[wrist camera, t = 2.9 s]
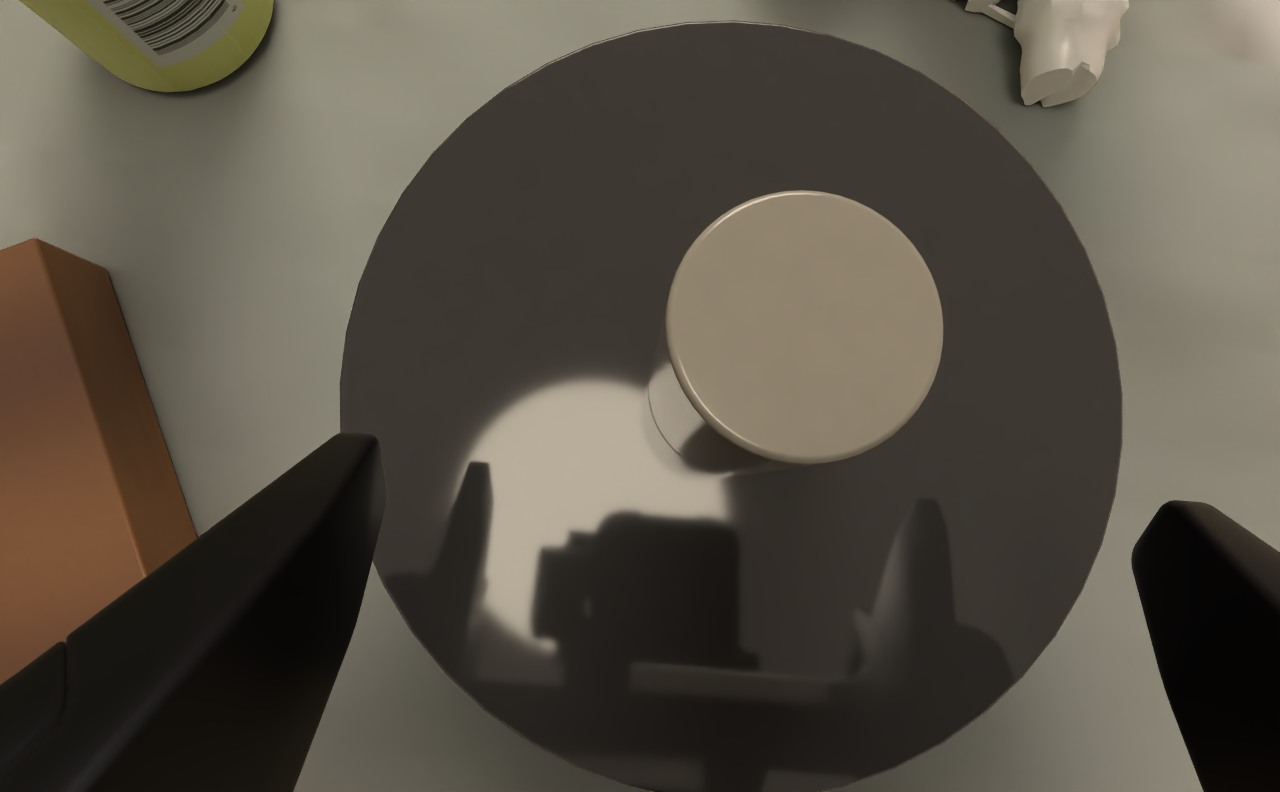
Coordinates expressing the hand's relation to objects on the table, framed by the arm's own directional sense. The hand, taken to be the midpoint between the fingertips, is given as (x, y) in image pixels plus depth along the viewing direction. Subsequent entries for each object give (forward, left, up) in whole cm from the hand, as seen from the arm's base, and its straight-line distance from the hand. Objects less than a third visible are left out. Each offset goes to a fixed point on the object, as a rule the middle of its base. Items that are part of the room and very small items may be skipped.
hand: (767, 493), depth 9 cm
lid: (+2, -1, -4) cm, 4 cm away
